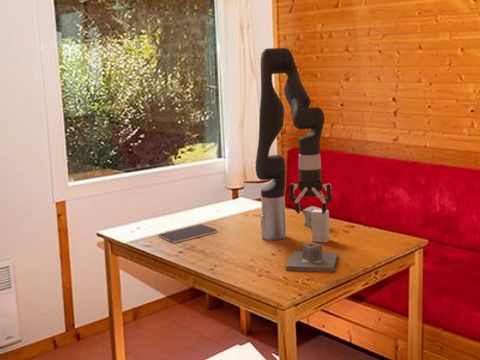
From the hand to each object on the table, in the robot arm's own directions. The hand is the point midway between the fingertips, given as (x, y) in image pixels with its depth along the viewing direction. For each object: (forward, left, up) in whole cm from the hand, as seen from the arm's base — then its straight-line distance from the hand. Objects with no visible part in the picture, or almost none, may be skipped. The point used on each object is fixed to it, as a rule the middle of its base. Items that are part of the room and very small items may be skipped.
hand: (311, 213), depth 207 cm
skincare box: (0, +26, -18) cm, 32 cm away
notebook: (-56, +30, -19) cm, 66 cm away
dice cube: (0, 0, -17) cm, 17 cm away
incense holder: (-5, +45, -18) cm, 49 cm away
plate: (0, 0, -18) cm, 18 cm away
